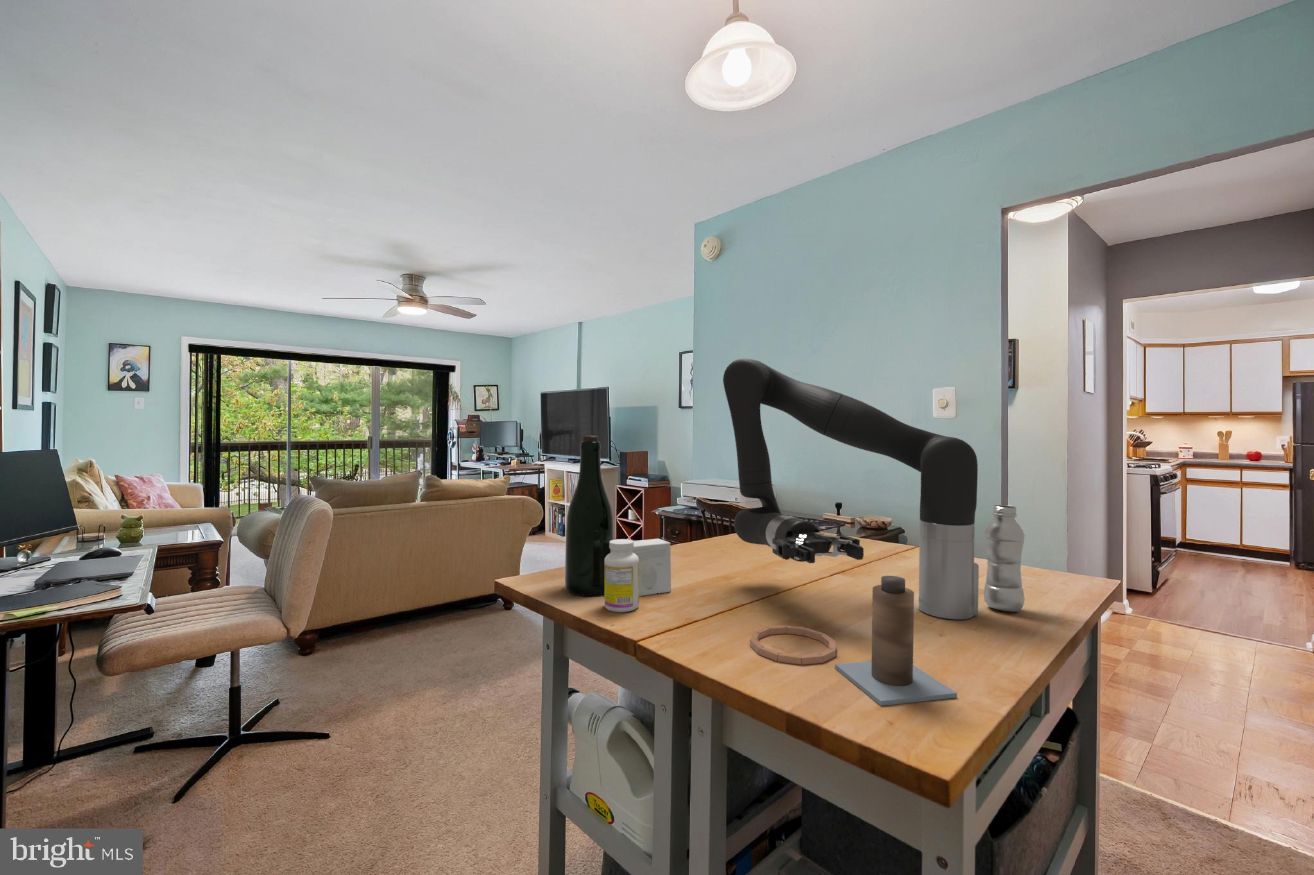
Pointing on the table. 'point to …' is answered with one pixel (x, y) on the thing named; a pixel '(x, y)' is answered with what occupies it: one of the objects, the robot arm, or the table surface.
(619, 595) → the supplement bottle
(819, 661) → the pinkish tan segmented ring
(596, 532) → the wine bottle
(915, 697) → the mat
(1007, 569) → the plastic bottle
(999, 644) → the table surface
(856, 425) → the robot arm
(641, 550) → the skincare box
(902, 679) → the pepper mill
